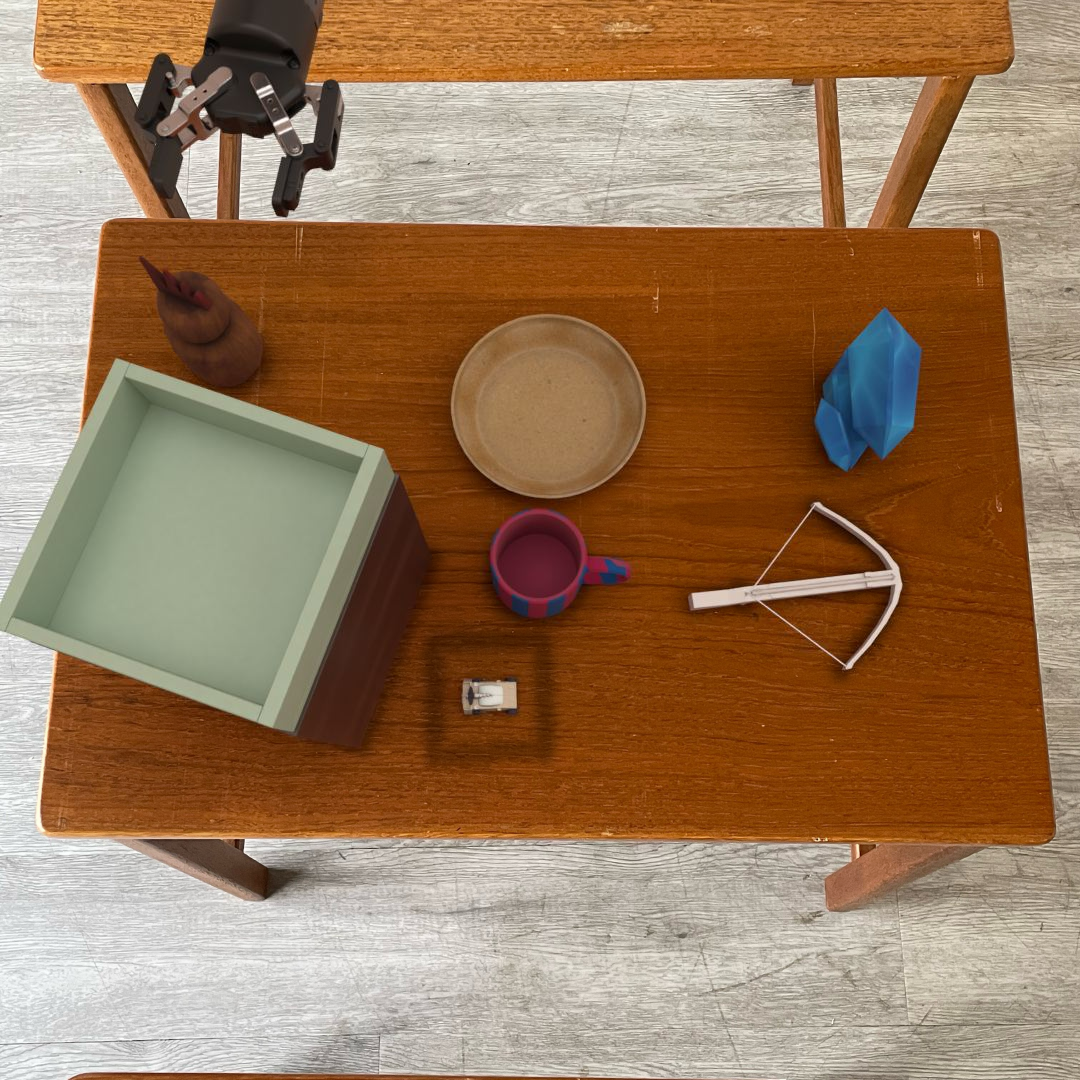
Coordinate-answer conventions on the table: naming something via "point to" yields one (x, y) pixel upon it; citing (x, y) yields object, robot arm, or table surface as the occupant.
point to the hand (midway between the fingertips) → (220, 202)
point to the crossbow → (815, 585)
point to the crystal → (870, 393)
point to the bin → (199, 545)
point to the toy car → (489, 696)
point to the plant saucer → (548, 406)
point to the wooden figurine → (206, 327)
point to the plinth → (366, 628)
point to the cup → (546, 563)
